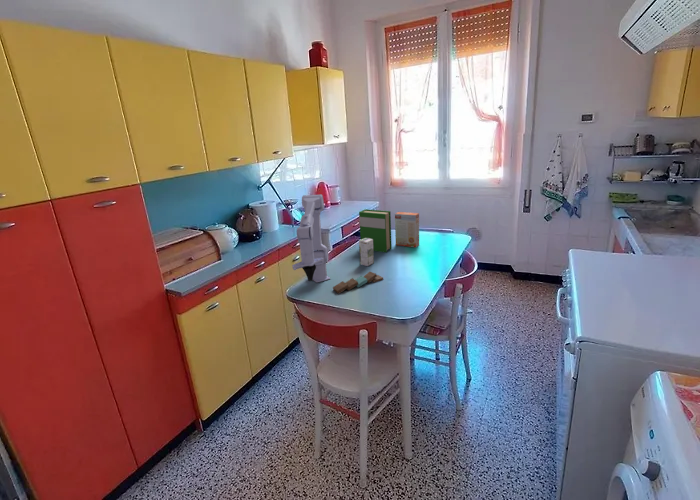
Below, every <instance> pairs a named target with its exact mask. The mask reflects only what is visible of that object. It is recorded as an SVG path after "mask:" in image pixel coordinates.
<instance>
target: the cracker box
mask: <svg viewBox="0 0 700 500" xmlns="http://www.w3.org/2000/svg"><path fill="white" fill-rule="evenodd" d="M394 229H395V230H394V231H395V233H394V234H395V235H394V236H395V246H400V247H408V248H417V247H419V246H420V213H418V212H408V211H407V212H404V211H398V212H395V213H394Z"/></svg>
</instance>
